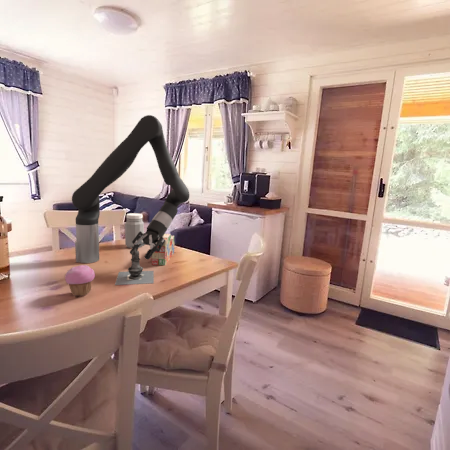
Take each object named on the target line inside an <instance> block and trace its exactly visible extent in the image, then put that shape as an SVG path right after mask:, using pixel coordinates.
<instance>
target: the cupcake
mask: <svg viewBox="0 0 450 450" xmlns="http://www.w3.org/2000/svg"><path fill="white" fill-rule="evenodd" d="M95 277H96V274H95V270H94V269H93V268H91V267H90V266H89V265H87V264H81V265H76V266H73V267H71V268H70V269H68V270H67V272H66V273H65V276H64V278H65V279H64V280H65V283H66V284H68V287H69V290H70V292H71V294H72V295H73V297H77V296H81V297H84V296H86V295H88V294H89V293H90V291H91V290H92V289H91V288H92V281H93V280H94V279H95Z"/></svg>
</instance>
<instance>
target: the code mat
mask: <svg viewBox="0 0 450 450" xmlns="http://www.w3.org/2000/svg"><path fill="white" fill-rule="evenodd" d="M130 275H131V274H130V273H129V271H119V272H118V275H117V277H116V281H115V283H114V285H115V286H123V285H125V286H126V285H147V284H152V285H153V284H155V281H154V280H155V279H154V277H155V276H154V275H155V273H154V270H142V273H141V274H140V275H142V278H140V279H135V280H134V279H129V276H130Z"/></svg>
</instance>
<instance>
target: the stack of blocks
mask: <svg viewBox="0 0 450 450" xmlns="http://www.w3.org/2000/svg"><path fill="white" fill-rule="evenodd" d="M163 238H164V239H165V242H164V244H163V246H162V248H161V249H160V251H159V252H157V251H156V252H154V253H153V254H152V256H151V265H153V266H166V265H167V264H168V262H169V261H170V259H171V257H172V256H173V255H174V253H175V235H172V234H171V233H165V234H164V235H163ZM158 247H159V246H158Z"/></svg>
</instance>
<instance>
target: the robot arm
mask: <svg viewBox="0 0 450 450" xmlns="http://www.w3.org/2000/svg"><path fill="white" fill-rule="evenodd" d="M164 135H165V134H164V130H163V125H162V123H161V122H160V121H159V119H158V118H157V117H156V116H153V115H150V114H147V115H144V116H142V117H141V118H140V120H138V122H137V124H136V125H135V126H134V128H133V129H132V130H131V132H130V133H129V134H128V135H127V137H125V139H124V140H123V141H122V142H120V144H119V145H118V146H117V147H115V149H114V150H112V152H110V154H109V155H108V156H107V157H106V158H105V160H103V162H102V163H101V164H100V165H99V166H98V168H97V169H95V171H94V172H93V174H92V175H91V176H90V177H89V178H88V179H86V181H85V182H84V183H83V184H81V186H79V187H77V188H76V189H75V190H74V192H73V193H72V195H71V202H72V205H73V206H74V207H75V208H76V209H78V211H77V215H76V216H75V237H76V240H75V241H74V245H75V247H74V248H75V263H80V264H90V263H91V264H92V263H96V262H99V260H100V238H99V237H100V236H99V235H100V233H99V231H100V230H99V228H100V227H99V219H100V211H101V210H100V208H101V207H100V206H101V205H100V203H101V202H100V201H101V199H100V195H101V194H102V193H103V192H104V190H105V189H106V188H107V187H109V186H110V185H111V184H113V183H115V181H116V182H117V180H118V179H119V178H121V177H122V176H123V175H124V174H125V173H126V171H127V170H129V168H130V167H132V165H133V163H134V162H135V160H136V158H137V156H138V155H139V152H140V151H141V150H142V149H143V148H144V146H145V145H147V143H149V144H150V146H151V148H152V150H153V152H154V156H155V159H156V162H157V166H158V168H159V171H160V175H161V176H162V179H163V181H164V183H165V185H167V186H170V187H171V189H172V190H171V191H170V192H169V193H168V194H167V196H166V198H165V200H164V202H163V204H162V206H161V208H160V209H159V211H158V212H157V213H156V214H155V215H154V217H153V218H152V219H151V221H150V222H149V223H148V225H147V227H146V232H144V233H142V232H139V233H138V234H137V236H136V237H135V238H134V240H133V241H132V243H133V244H134V246H133V248H130V250H129V254H130V255H131V256H132V251H134V250H135V248H136V250H138V251H139V249H140V248H142V247H143V246H146V245H147V246H149V249H148V250H147V251H146V253H145V254H144V255H143V256H144V259H146V260H147V261H149V260H150V259H151V258H152V254H153V253H154V252H156V251H157V252H159V251H160V249H161V248H162V246H163V244H164V242H165V239H164V238H163V235H164V234H166V232H167V231H168V229H169V228H170V227H171V225H172V222H173V220H174V219H175V217H176V216H177V214H178V211H179V209H178V207H179V206H180V205H182V204H184V203H187V202H188V201H189V200H190V191H189V188H188V186H187V185H186V184H185V182H184V181H183V179H182V178H181V177H180V174H179V172H178V170H177V168H176V165H175V162H174V161H173V158H172V156H171V153H170V151H169V149H168V146H167V143H166V139H165V136H164ZM136 240H137V242H135V241H136ZM142 240H143V242H142ZM139 243H140V244H139ZM138 244H139V245H138ZM141 246H142V247H141ZM158 246H159V247H158ZM139 247H140V248H139Z"/></svg>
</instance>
